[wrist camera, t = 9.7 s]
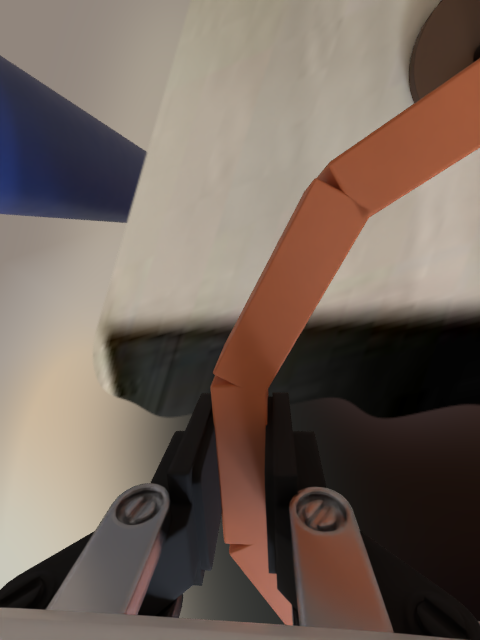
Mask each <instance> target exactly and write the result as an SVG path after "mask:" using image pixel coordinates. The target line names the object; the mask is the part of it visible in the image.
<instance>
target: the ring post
mask: <svg viewBox="0 0 480 640" xmlns="http://www.w3.org/2000/svg"><path fill="white" fill-rule="evenodd" d="M479 58H480V0H442V1H441V2H440V3H439V4H438V6H437V7H436V8H435V9H434V11H433V12H432V13H431V15H430V16H429V18H428V19H427V21H426V22H425V24H424V25H423V27H422V29H421V31H420V33H419V35H418V37H417V40H416V42H415V45H414V48H413V52H412V56H411V61H410V68H409V81H410V89H411V94H412V98H413V100H414V103H416V102H417V101H419V100H420V99H422V98H423V97H424V96H426V95H427V94H429V93H430V92H432V91H433V90H435V89H436V88H437V87H439V86H440V85H442V84H443V83H445V82H446V81H448V80H449V79H450V78H452V77H453V76H455V75H456V74H458V73H459V72H461V71H462V70H463V69H465V68H466V67H468V66H469V65H471V64H472V63H474V62H475V61H476V60H478V59H479Z"/></svg>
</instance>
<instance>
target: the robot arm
mask: <svg viewBox="0 0 480 640" xmlns="http://www.w3.org/2000/svg"><path fill="white" fill-rule="evenodd" d="M264 475H265V503H266V525H267V547H268V569H269V573H271V574H277V589H278V590H279V591H280V593H281V594H282V595H283V596H284V597H285V598H286V599H287V600H288V601H289V602H290V603H291V605H292V622H293V626H291V625H277V624H263V623H247V622H233V621H218V620H203V619H188V618H187V619H186V618H179V615H180V611H181V608H182V602H183V593H184V592H185V591H186V590H187V589H189V588H190V587H191V586H192V585H199V586H201V585H202V583H203V577H204V572H205V570H208V571H210V570H211V569H212V565H213V560H214V554H215V548H216V543H217V537H218V531H219V525H220V519H221V514H222V507H221V495H220V484H219V472H218V461H217V449H216V438H215V426H214V421H213V410H212V399H211V393H202V394H201V396H200V398H199V400H198V403H197V405H196V407H195V409H194V412H193V414H192V416H191V419H190V421H189V424H188V426H187V428H186V430H185V431H176V432H175V433H174V435H173V437H172V439H171V442H170V443H169V446H168V448H167V450H166V452H165V454H164V456H163V458H162V460H161V462H160V464H159V466H158V469H157V471H156V473H155V475H154V477H153V479H152V481H151V483H147V484H140V485H137V486H134V487H132V488H130V489H128V490H126V491H125V492H123V493H122V494H121V495H119V496H118V497H117V499H116V500H115V501H114V502H113V504H112V505H111V507H110V508H109V510H108V511H107V513H106V514H105V516H104V518H103V519H102V521H101V522H100V524H99V526H98V527H97V529H96V530H95V531H94V532H92V533H91V534H89V535H87V536H85V537H84V538H82V539H80V540H79V541H77V542H75V543H73V544H72V545H70V546H68V547H67V548H65V549H63V550H61V551H60V552H58V553H56V554H55V555H53V556H51V557H50V558H48V559H46V560H44V561H42V562H41V563H39V564H37V565H35V566H34V567H32V568H30V569H29V570H27V571H25V572H24V573H22V574H20V575H18V576H17V577H16V578H14V579H13V580H11V581H10V582H8V583H7V584H6V585H5V586H4V587H3V588H2V589H1V590H0V640H480V621H477V620H476V619H475V618H474V616H473V615H472V614H471V613H470V611H469V610H468V609H467V608H466V607H465V606H463V605H462V604H461V603H460V602H459V601H458V600H456V599H455V598H454V597H452V596H451V595H450V594H448V593H447V592H445V591H444V590H443V589H441V588H440V587H438V586H437V585H436V584H434V583H433V582H431V581H430V580H428V579H427V578H426V577H424V576H423V575H421V574H420V573H419V572H417V571H416V570H415V569H413V568H412V567H410V566H409V565H407V564H406V563H405V562H403V561H402V560H400V559H399V558H397V557H396V556H395V555H393V554H392V553H391V552H389V551H388V550H386V549H385V548H384V547H382V546H381V545H379V544H378V543H376V542H375V541H374V540H372V539H371V538H370V537H368V536H367V535H365V534H364V533H362V532H361V531H360V530H359V528H358V525H357V522H356V519H355V516H354V513H353V510H352V508H351V506H350V505H349V503H348V501H347V500H345V499H344V497H343V496H341V495H340V494H338V493H337V492H335V491H333V490H330V489H327V488H326V483H325V479H324V474H323V469H322V465H321V460H320V456H319V451H318V447H317V442H316V437H315V433H314V432H313V431H292V422H291V413H290V404H289V394H288V393H273V397H268V415H267V425H266V432H265V469H264Z"/></svg>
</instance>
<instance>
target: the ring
mask: <svg viewBox="0 0 480 640" xmlns="http://www.w3.org/2000/svg"><path fill="white" fill-rule="evenodd" d="M478 148H480V58H479V59H478V60H476V61H475V62H474V63H472V64H471V65H469V66H468V67H466V68H465V69H463V70H462V71H461V72H459V73H458V74H456V75H455V76H453V77H452V78H450V79H449V80H448V81H446V82H445V83H443V84H442V85H440V86H439V87H437V88H436V89H435V90H433V91H432V92H430V93H429V94H427V95H426V96H424V97H423V98H422V99H420V100H419V101H417V102H416V103H414V104H413V105H411V106H410V107H409V108H407V109H406V110H404V111H403V112H401V113H400V114H398V115H397V116H396V117H394V118H393V119H391V120H390V121H388V122H387V123H385V124H384V125H383V126H381V127H380V128H378V129H377V130H375V131H374V132H372V133H371V134H370V135H368V136H367V137H365V138H364V139H362V140H361V141H359V142H358V143H357V144H355V145H354V146H352V147H351V148H349V149H348V150H346V151H345V152H344V153H342V154H341V155H339V156H338V157H336V158H335V159H333V160H332V161H331V162H329V164H328V165H327V166H326V167H325V169H324V170H323V171H322V172H321V173H320V175H319V176H318V177H317V178H315V179H314V180H313V181H312V183H311V184H310V185H309V187H308V188H307V189H306V190H305V192H304V193H303V195H302V197H301V199H300V201H299V203H298V205H297V207H296V209H295V211H294V213H293V215H292V216H291V218H290V220H289V222H288V224H287V226H286V228H285V230H284V232H283V234H282V236H281V238H280V239H279V241H278V243H277V245H276V247H275V249H274V251H273V253H272V255H271V257H270V259H269V261H268V263H267V264H266V266H265V268H264V270H263V272H262V274H261V276H260V278H259V280H258V282H257V284H256V286H255V287H254V289H253V291H252V293H251V295H250V297H249V299H248V301H247V303H246V305H245V307H244V309H243V311H242V312H241V314H240V316H239V318H238V320H237V322H236V324H235V326H234V328H233V330H232V332H231V334H230V335H229V337H228V339H227V341H226V343H225V345H224V347H223V350H222V352H221V354H220V357H219V359H218V362H217V364H216V366H215V369H214V371H213V374H214V375H215V377H214V380H213V382H212V385H211V399H212V410H213V421H214V426H215V438H216V449H217V461H218V472H219V484H220V495H221V507H222V522H223V533H224V542H225V543H226V544H230V548H229V553H230V555H231V556H232V558H233V559H234V560H235V561H236V563H237V564H238V565H239V567H240V568H241V569H242V570H243V572H244V573H245V574H246V575H247V577H248V578H249V579H250V580H251V582H252V583H253V584H254V586H255V587H256V588H257V589H258V590H259V592H260V593H261V594H262V595H263V597H264V598H265V599H266V601H267V602H268V603H269V604H270V606H271V607H272V608H273V610H275V612H276V613H277V615H278V616H279V617H280V618H281V620H282V621H283V622H284V624H285V625H291V626H293V622H292V605H291V603H290V602H289V601H288V600H287V599H286V598H285V597H284V596H283V595H282V594H281V593H280V591H279V590H278V589H277V574H271V573H269V569H268V547H267V525H266V503H265V475H264V469H265V432H266V425H267V415H268V388H269V386H270V384H271V382H272V381H273V379H274V377H275V376H276V374H277V372H278V371H279V369H280V367H281V365H282V364H283V362H284V360H285V359H286V357H287V355H288V354H289V352H290V350H291V349H292V347H293V345H294V343H295V342H296V340H297V338H298V337H299V335H300V333H301V332H302V330H303V328H304V327H305V325H306V323H307V321H308V320H309V318H310V316H311V315H312V313H313V311H314V310H315V308H316V306H317V305H318V303H319V301H320V299H321V298H322V296H323V294H324V293H325V291H326V289H327V288H328V286H329V284H330V282H331V281H332V279H333V277H334V276H335V274H336V272H337V271H338V269H339V267H340V266H341V264H342V262H343V260H344V259H345V257H346V255H347V254H348V252H349V250H350V249H351V247H352V245H353V244H354V242H355V240H356V238H357V237H358V235H359V233H360V232H361V230H362V228H363V227H364V225H365V223H366V221H367V220H368V218H369V217H371V216H372V215H374V214H375V213H377V212H378V211H380V210H382V209H383V208H385V207H386V206H388V205H390V204H391V203H393V202H394V201H396V200H397V199H399V198H401V197H402V196H404V195H405V194H407V193H409V192H410V191H412V190H413V189H415V188H416V187H418V186H420V185H421V184H423V183H424V182H426V181H428V180H429V179H431V178H432V177H434V176H435V175H437V174H439V173H440V172H442V171H443V170H445V169H447V168H448V167H450V166H451V165H453V164H454V163H456V162H458V161H459V160H461V159H462V158H464V157H466V156H467V155H469V154H470V153H472V152H473V151H475V150H477V149H478Z"/></svg>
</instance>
